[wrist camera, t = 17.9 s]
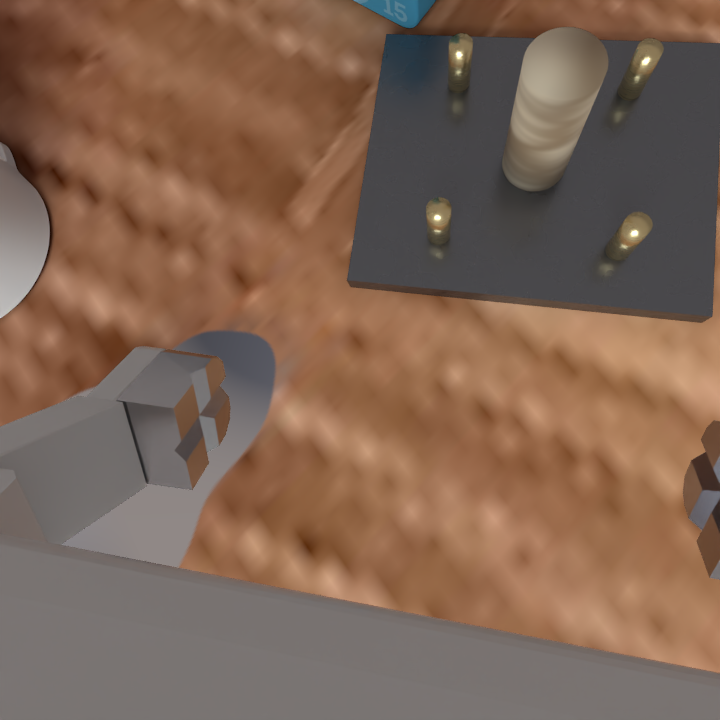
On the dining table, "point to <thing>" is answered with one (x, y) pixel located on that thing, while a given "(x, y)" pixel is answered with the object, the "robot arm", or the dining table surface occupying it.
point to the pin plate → (550, 206)
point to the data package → (400, 10)
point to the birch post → (552, 105)
